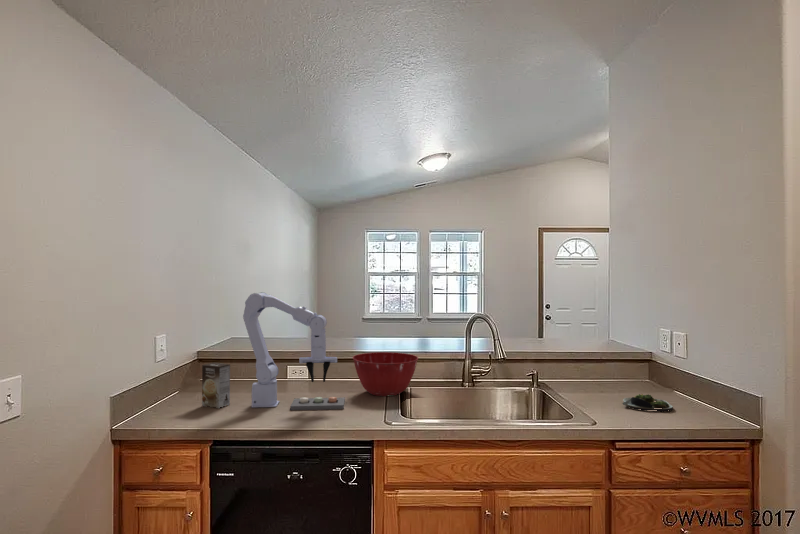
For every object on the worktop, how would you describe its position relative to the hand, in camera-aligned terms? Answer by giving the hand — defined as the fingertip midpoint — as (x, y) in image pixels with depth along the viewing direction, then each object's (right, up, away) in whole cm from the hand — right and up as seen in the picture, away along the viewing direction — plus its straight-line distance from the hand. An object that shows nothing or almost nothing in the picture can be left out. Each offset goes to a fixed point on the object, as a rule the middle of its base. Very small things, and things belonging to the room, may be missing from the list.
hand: (318, 381), depth 202 cm
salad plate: (+126, -10, -3) cm, 127 cm away
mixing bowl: (+26, -10, +21) cm, 35 cm away
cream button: (-5, -8, 0) cm, 10 cm away
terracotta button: (+5, -8, 0) cm, 10 cm away
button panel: (0, -9, 0) cm, 9 cm away
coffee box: (-40, -10, +1) cm, 41 cm away
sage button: (0, -8, 0) cm, 8 cm away
